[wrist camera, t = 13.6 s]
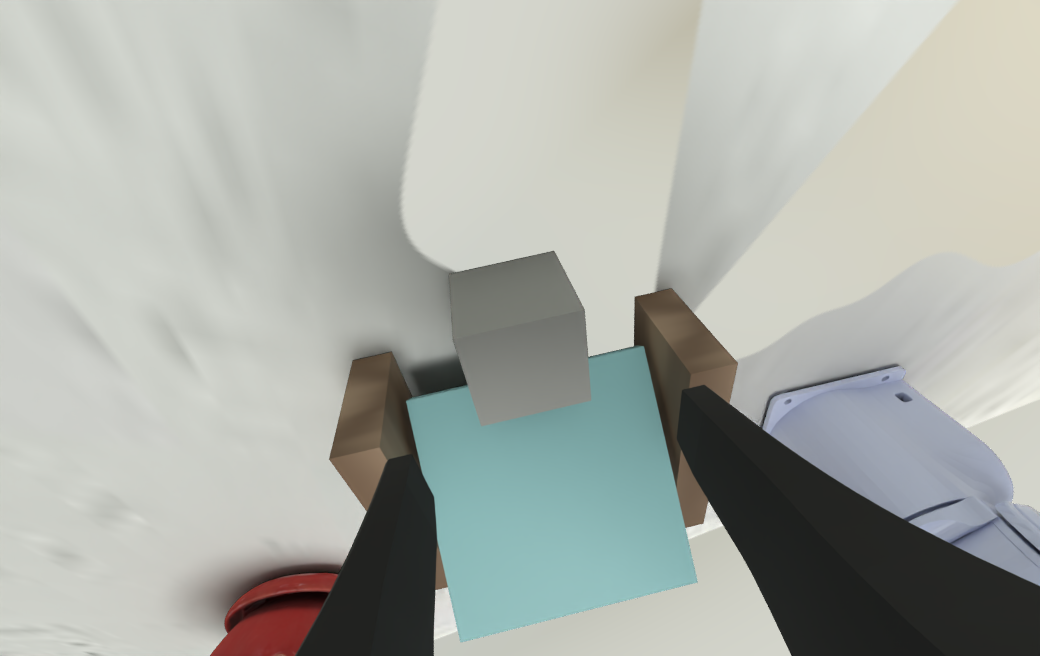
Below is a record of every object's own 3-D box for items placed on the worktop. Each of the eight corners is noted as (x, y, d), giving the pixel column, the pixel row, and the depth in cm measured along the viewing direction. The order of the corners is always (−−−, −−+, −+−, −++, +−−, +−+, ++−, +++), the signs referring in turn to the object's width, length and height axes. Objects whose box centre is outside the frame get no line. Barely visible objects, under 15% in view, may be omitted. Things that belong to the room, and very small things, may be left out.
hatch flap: (624, 344, 24) (644, 346, 21) (670, 547, 24) (697, 582, 21) (420, 391, 24) (406, 401, 20) (466, 598, 24) (460, 642, 20)
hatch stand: (671, 288, 22) (737, 363, 17) (659, 456, 31) (700, 536, 26) (352, 360, 21) (329, 459, 17) (433, 510, 30) (432, 603, 25)
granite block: (563, 333, 23) (554, 250, 20) (591, 400, 19) (584, 309, 16) (472, 354, 22) (448, 273, 19) (481, 426, 19) (452, 339, 15)
